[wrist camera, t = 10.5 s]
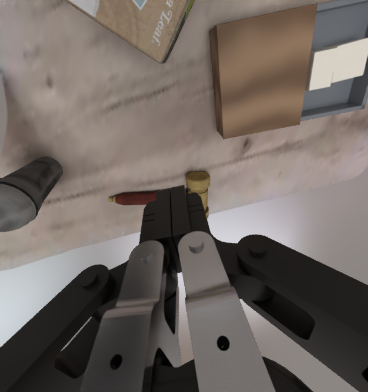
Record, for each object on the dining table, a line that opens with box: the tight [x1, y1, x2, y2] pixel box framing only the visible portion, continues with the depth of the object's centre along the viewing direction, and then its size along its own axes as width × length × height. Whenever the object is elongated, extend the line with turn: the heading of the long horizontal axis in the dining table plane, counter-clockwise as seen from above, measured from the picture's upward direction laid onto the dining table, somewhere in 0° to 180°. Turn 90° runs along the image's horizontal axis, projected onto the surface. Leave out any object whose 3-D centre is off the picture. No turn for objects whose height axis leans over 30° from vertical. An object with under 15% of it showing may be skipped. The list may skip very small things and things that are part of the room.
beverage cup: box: [0, 157, 63, 232], centre depth 29 cm, size 7×7×20 cm
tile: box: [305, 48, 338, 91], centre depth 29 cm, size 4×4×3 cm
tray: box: [300, 0, 368, 121], centre depth 30 cm, size 14×11×4 cm
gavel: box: [108, 171, 210, 218], centre depth 41 cm, size 21×5×10 cm
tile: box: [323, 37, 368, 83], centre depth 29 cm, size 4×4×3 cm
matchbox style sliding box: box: [209, 3, 318, 139], centre depth 30 cm, size 14×12×5 cm
